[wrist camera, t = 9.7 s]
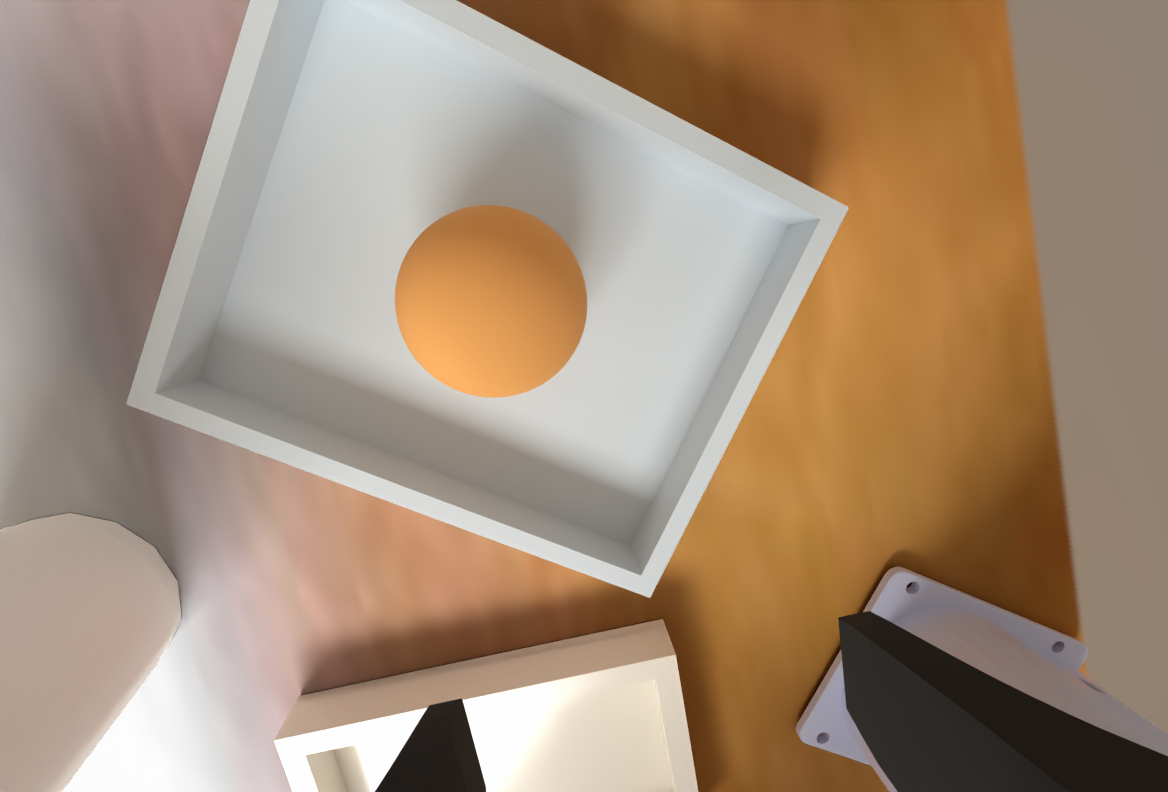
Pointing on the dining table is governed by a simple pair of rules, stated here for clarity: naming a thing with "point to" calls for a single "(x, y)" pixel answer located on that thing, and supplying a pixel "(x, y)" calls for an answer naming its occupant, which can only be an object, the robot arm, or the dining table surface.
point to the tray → (410, 205)
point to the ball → (491, 301)
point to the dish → (514, 719)
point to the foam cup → (74, 640)
